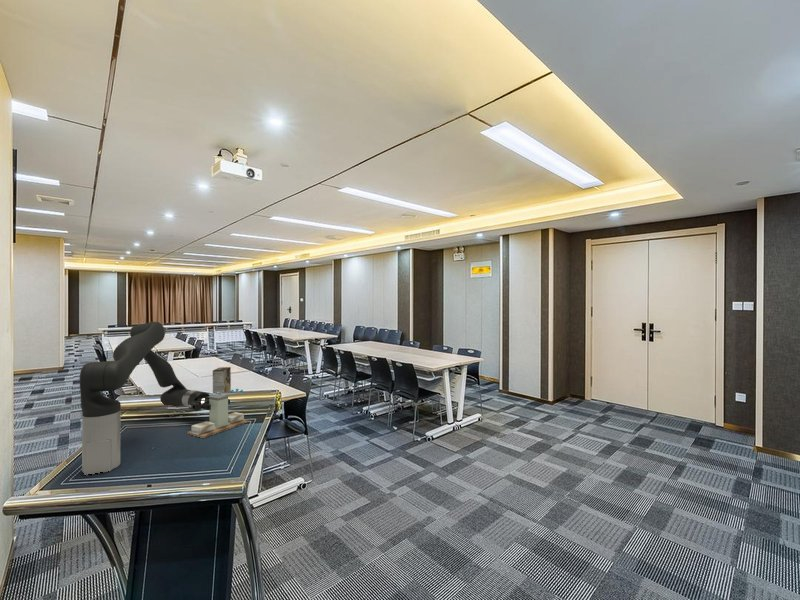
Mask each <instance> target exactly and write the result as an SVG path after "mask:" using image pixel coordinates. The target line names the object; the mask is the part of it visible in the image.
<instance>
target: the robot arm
mask: <svg viewBox="0 0 800 600" xmlns="http://www.w3.org/2000/svg"><path fill="white" fill-rule="evenodd" d="M129 335H130V337H127V338H126V339H124V340H123V341H122V342H120V343H119V344H118V345H117V346H116V347H115V349H114V350H113V353H112V354H113V355H112V357H113V360H111V361H110V360H109V361H91V362H87V363H85V364H84V365H83V366H82V368H81V370H80V373H79V389H80V390H79V392H80V408H81V412H82V413H81V414H82V415H81V417H82V419H81V424H82V425H81V427H82V428H81V473H82V472H83V473H84V474H83V473H82V474H83V475H86V474H87V475H86V476H89V475H88V474H92V475H96V474H95V473H98V474H101V473H100V472H103V473H108V471H109V472H111V471H112V470H114V469H116V468H118V467H119V466H120V465H121V420H122V419H121V416H122V415H121V412H122V411H121V406H122V405H121V401H119V400H117V399H113V398H109V397H107V396H105V395H103V394H102V393H101V392H108V391H109V392H110V391H111V392H112V391H116V390H119V389H121V388H123V387H124V385H125V384H126V383H127V381H128V380H129V378H130V376H131V374H132V373H133V371H134V370H135V368H137V366H138V365H139V364H140V363H142V361H143V360H145V361H146V363H147V365H148V366H149V368H150V369H151V371H152V373H153V375H154V377H155V379H156V381H157V384H158V386H159V387H160V388H168V387H170V388H169V389H167V390H165V391H164V392H163V393H162V394H161V395H160V398H159V400H160V403H161V402H162V403H163V404H164V405H163V406H165V405H173V406H176V407H181V406H182V407H187V409H189V410H192V411H203V410H206V411H209V410H211V405H210V404H209V397H210V396H211V395H210V394H209V393H208V392H206V391H205V392H204V391H202V390H201V391H200V390H192V389H188V388H187V387H186V386H185V385H184V384H183V383H182V382H181V381H180V379H178V377H177V376H176V372H175V371H174V368H173V366H172V365H171V364H170V363H169V361H167V360H166V359H165V358H163V357H161V356H159V354H157V353H155V352H154V351H153V348H155V347H156V346H157V345H159V344H160V343H161V342H163V340H164V339H165V335H166V330H165V326H164V325H163V324H162V323H161V322H159V321H149V322H145V323H141V324H137V325H133V326H132V327H131V328H130V332H129ZM162 403H161V404H162ZM230 404H231V402H230V399H228V406H229V405H230Z"/></svg>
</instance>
